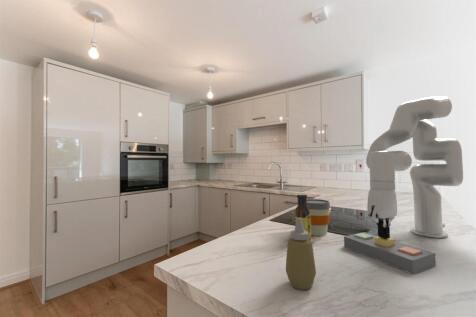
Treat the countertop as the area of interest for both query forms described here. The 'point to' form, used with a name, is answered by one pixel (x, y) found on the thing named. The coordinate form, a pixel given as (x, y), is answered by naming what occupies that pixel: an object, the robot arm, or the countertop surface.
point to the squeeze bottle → (300, 258)
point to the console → (391, 254)
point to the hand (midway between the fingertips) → (383, 237)
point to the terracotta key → (410, 251)
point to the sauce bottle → (303, 213)
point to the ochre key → (384, 241)
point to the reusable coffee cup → (319, 216)
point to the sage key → (363, 236)
